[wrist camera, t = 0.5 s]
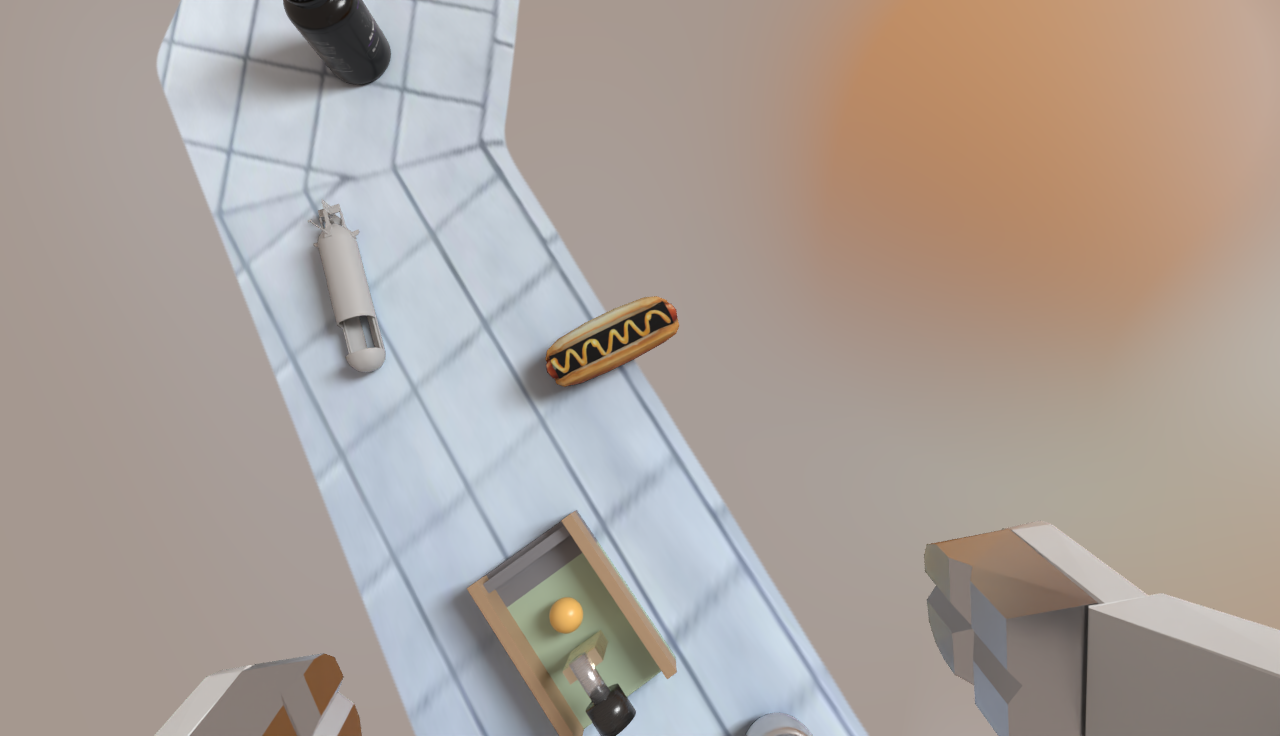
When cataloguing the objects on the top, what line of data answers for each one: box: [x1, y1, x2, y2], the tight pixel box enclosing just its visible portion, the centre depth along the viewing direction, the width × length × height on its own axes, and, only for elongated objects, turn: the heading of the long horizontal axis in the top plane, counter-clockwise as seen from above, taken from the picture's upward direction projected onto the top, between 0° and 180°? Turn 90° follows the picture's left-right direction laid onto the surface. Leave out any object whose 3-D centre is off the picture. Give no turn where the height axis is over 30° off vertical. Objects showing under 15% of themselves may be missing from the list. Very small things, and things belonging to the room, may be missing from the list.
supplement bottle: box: [283, 0, 391, 84], centre depth 59 cm, size 7×7×12 cm
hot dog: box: [546, 296, 679, 387], centre depth 56 cm, size 5×13×5 cm, turn 116°
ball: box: [549, 597, 583, 634], centre depth 53 cm, size 3×3×3 cm
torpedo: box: [308, 200, 385, 372], centre depth 57 cm, size 18×5×6 cm, turn 18°
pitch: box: [467, 510, 677, 736], centre depth 53 cm, size 16×11×4 cm
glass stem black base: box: [562, 630, 636, 736], centre depth 49 cm, size 6×3×7 cm, turn 35°
